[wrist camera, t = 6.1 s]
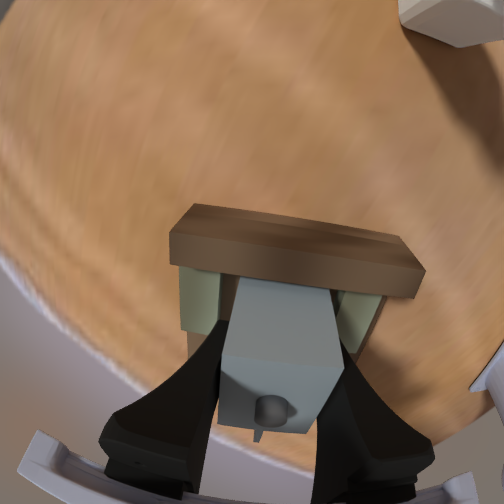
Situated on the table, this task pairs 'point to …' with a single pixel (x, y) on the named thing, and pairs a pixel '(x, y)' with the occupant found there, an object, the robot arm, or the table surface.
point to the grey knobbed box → (278, 357)
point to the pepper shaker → (455, 20)
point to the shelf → (286, 267)
